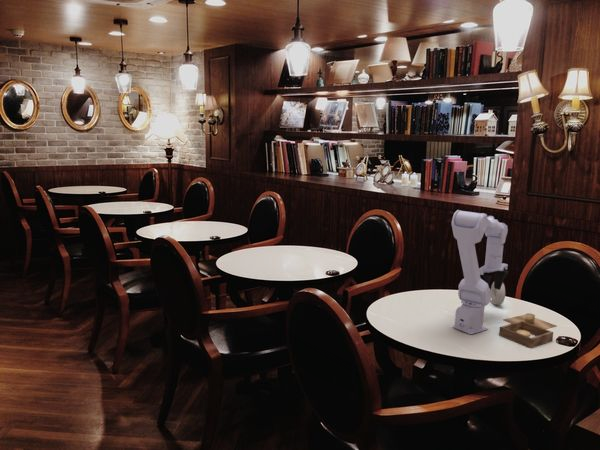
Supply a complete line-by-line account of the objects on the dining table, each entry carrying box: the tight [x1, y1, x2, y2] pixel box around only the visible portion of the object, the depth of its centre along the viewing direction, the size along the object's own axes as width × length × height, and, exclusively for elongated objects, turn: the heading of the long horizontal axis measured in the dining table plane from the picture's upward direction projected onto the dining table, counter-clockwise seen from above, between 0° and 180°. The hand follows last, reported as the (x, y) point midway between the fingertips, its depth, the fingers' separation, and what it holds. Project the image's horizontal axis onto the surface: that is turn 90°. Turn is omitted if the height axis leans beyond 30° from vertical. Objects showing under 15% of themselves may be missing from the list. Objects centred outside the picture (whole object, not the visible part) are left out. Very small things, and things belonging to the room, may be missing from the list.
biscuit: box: [516, 330, 531, 337], centre depth 182 cm, size 4×4×1 cm
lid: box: [502, 312, 557, 330], centre depth 192 cm, size 13×13×4 cm
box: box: [498, 321, 554, 349], centre depth 178 cm, size 12×12×3 cm
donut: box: [490, 281, 506, 306], centre depth 211 cm, size 10×4×10 cm, turn 177°
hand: (490, 290), depth 195 cm, fingers open, 7 cm apart
